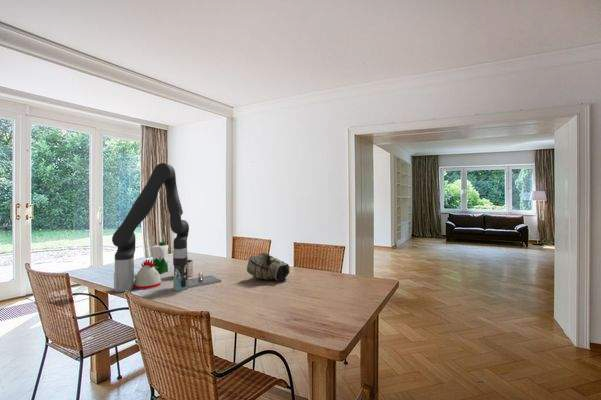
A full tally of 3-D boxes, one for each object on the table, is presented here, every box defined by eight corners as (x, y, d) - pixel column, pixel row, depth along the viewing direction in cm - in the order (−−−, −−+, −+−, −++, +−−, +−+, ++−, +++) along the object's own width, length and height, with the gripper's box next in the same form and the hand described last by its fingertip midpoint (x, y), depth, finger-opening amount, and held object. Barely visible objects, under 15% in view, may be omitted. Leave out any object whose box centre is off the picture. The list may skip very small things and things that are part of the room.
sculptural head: (296, 258, 198) (267, 249, 213) (275, 256, 181) (245, 247, 196) (290, 285, 197) (262, 274, 212) (269, 286, 180) (239, 274, 195)
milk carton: (170, 271, 215) (170, 242, 215) (160, 274, 206) (160, 244, 206) (159, 270, 217) (159, 241, 217) (149, 273, 209) (149, 243, 209)
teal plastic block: (176, 291, 170) (176, 278, 170) (173, 288, 174) (173, 276, 174) (187, 289, 174) (187, 277, 174) (183, 286, 178) (183, 275, 178)
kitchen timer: (150, 289, 173) (149, 262, 172) (128, 288, 175) (128, 261, 175) (165, 283, 186) (165, 257, 186) (145, 281, 189) (145, 256, 189)
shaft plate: (188, 288, 176) (188, 277, 176) (179, 282, 187) (179, 273, 187) (221, 281, 189) (221, 272, 189) (211, 277, 200) (211, 268, 199)
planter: (181, 279, 195) (181, 263, 195) (171, 276, 201) (171, 261, 201) (196, 275, 203) (196, 260, 203) (186, 273, 210) (186, 258, 210)
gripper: (169, 255, 177) (169, 284, 177) (178, 259, 166) (178, 289, 166) (182, 253, 182) (182, 281, 182) (192, 257, 171) (192, 286, 171)
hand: (180, 285), depth 174 cm, fingers open, 8 cm apart
